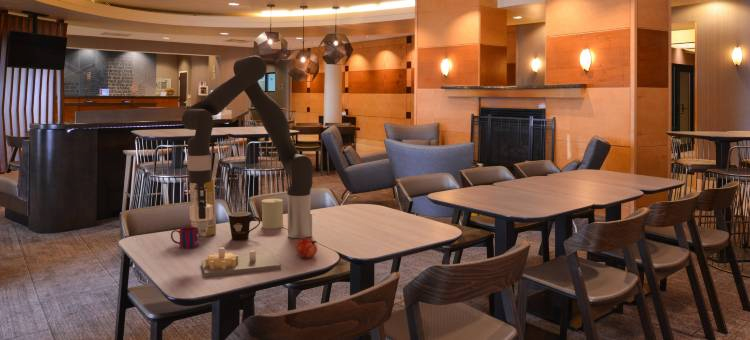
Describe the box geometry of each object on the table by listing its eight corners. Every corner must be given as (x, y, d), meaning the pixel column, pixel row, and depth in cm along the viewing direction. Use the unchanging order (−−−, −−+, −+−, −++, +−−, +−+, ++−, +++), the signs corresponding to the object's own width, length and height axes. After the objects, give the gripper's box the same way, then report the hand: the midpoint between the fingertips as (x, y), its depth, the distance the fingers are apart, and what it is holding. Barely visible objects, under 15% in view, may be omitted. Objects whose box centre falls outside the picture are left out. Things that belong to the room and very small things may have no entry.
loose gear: (212, 216, 194) (211, 203, 194) (213, 219, 189) (213, 206, 188) (189, 217, 192) (188, 205, 191) (190, 221, 186) (189, 208, 185)
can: (273, 230, 235) (272, 202, 233) (257, 227, 240) (256, 199, 238) (287, 225, 242) (287, 198, 241) (272, 223, 247) (271, 196, 246)
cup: (195, 249, 206) (194, 231, 205) (168, 248, 206) (167, 230, 205) (201, 244, 212) (200, 226, 211) (175, 243, 213) (175, 226, 212)
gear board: (272, 257, 195) (272, 238, 194) (280, 269, 183) (280, 248, 182) (201, 264, 187) (200, 244, 186) (205, 277, 174) (204, 255, 173)
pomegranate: (293, 265, 193) (312, 252, 189) (285, 247, 196) (303, 233, 191) (307, 262, 200) (326, 249, 195) (299, 245, 202) (317, 231, 197)
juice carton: (219, 233, 228) (217, 176, 224) (204, 238, 221) (201, 178, 218) (203, 230, 233) (201, 174, 229) (188, 234, 226) (186, 176, 223)
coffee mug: (224, 240, 218) (223, 215, 217) (237, 235, 226) (237, 211, 225) (249, 243, 214) (248, 217, 213) (261, 237, 222) (261, 213, 220)
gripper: (212, 170, 182) (214, 220, 185) (209, 165, 196) (211, 211, 198) (188, 171, 180) (191, 222, 182) (186, 166, 193) (189, 213, 195)
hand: (201, 216), depth 190 cm, fingers closed on loose gear, 6 cm apart
